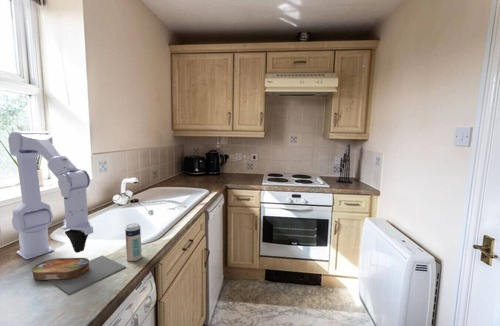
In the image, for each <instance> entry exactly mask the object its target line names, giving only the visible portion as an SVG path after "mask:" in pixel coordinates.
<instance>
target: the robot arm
mask: <svg viewBox="0 0 500 326" xmlns="http://www.w3.org/2000/svg"><path fill="white" fill-rule="evenodd" d="M7 140H8V146H9V147H8V148H9V152H10V155H11V156H13V157H16V163H17V169H18V170H17V171H18V178H19V184H20V192H21V193H20V194H21V200H22V203H21V204H19V205H18V206H17V207H16V208H15V209H13V210H12V218H11V224H12V228H13V229H14V230H15V231H16V232H17V233H19V234H18V244H19V250H17V251H16V254H18V255H19V256H21V257H22V258H23V259H25V260H29V259H33V258H36V257H39V256H43V255H45V254H48V253H52V252H54V250H55V249H54V248H53V247H51V246H50V243H49V232H48V231H49V230H48V228H49V227H50V224H52V222H53V220H54V213H53V211H52V209H51V206H50V204H49V203H47V202H44V201H42V196H41V190H40V180H39V173H38V164H37V158H38V157H39V155H40V156H42V158H44V159H45V160H46V162H47V168H48V169H49V170H50V171H51V173H52V174H53V175H54V176H55V177H56V178H57V185H58V188H59V190H60V195H61V196H62V198H63V204H64V217H65V218H64V219H62V223H63V225H62V226H61V230H63V231H64V234H65V235H66V236H67V238H68V239H69V241H70V243H71V246H72V249H73V251H74V252H75V253H76V254H77V253H80V252H84V251H85V247H86V242H87V240H88V237H89V235H91V234H93V233H94V227H93V226H92V225H91V222H90V220H89V216H88V215H89V214H88V211H89V210H88V199H87V189H88V188H89V186H90V183H91V180H90V179H91V178H90V175H89V173H88V172H87V170H85V169H81V168H77V167H76V165H74V163H73V162H72V161H71V160H70V159H69V158H68V157H67V156H65V155H61V154H60V153H59V152H58V150H57V149H56V148H55V145H53V143H54V141H53V136H52V134H51V133H50V132H49V131H46V130H43V131H39V130H38V131H35V130H34V131H32V130H31V131H29V130H25V131H24V130H23V131H22V130H12V131H11V132H10V133H9V136H8V138H7Z"/></svg>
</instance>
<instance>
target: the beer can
mask: <svg viewBox="0 0 500 326" xmlns="http://www.w3.org/2000/svg"><path fill="white" fill-rule="evenodd" d="M124 231H125V247H126V250H125V251H126V261H127V262H136V261H139V260H140V259H141V258H142V236H141V234H142V233H141V225H140V223H130V224H127V225H126V227H125V228H124Z"/></svg>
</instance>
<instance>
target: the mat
mask: <svg viewBox="0 0 500 326" xmlns="http://www.w3.org/2000/svg"><path fill="white" fill-rule="evenodd" d="M88 260H89V259H88ZM126 268H127V266H126V265H124V264H121V263H119V262H117V261H115V260H113V259H110V258H109V257H107V256H104V255H100V256H97V257H95V258H92V259H90V260H89V269H88V270H87V271H86V272H85V273H83V274H82V275H80V276H78V277H75V278H71V279H64V280H48V281H49V282H50V283H52V284H53V285H54V286H55V287H57V288H58V289H60V290H61V291H63V292H64V293H65V294H67V295H68V296H70V295H72V294H74V293H76V292H78V291H80V290H82V289H85V288H87V287H88V286H91V285H93V284H94V283H95V284H96V283H97V282H99V281H101V280H104V279H105V278H108V277H109V276H111V275H113V274H116V273H118V272H120V271H122V270H124V269H126Z"/></svg>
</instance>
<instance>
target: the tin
mask: <svg viewBox="0 0 500 326" xmlns="http://www.w3.org/2000/svg"><path fill="white" fill-rule="evenodd" d="M88 269H89V258H86V257H66V258H65V257H58V258H57V257H55V258H51V259H47V260H45V261H42V262H39V263H37V264H36V265H34V266H33V268H32V269H31V270H32V271H31V272H32V277H33V279H35V280H37V281H49V280H64V279H71V278H75V277H78V276H80V275H82V274H83V273H85V272H86V271H87V270H88Z"/></svg>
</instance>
